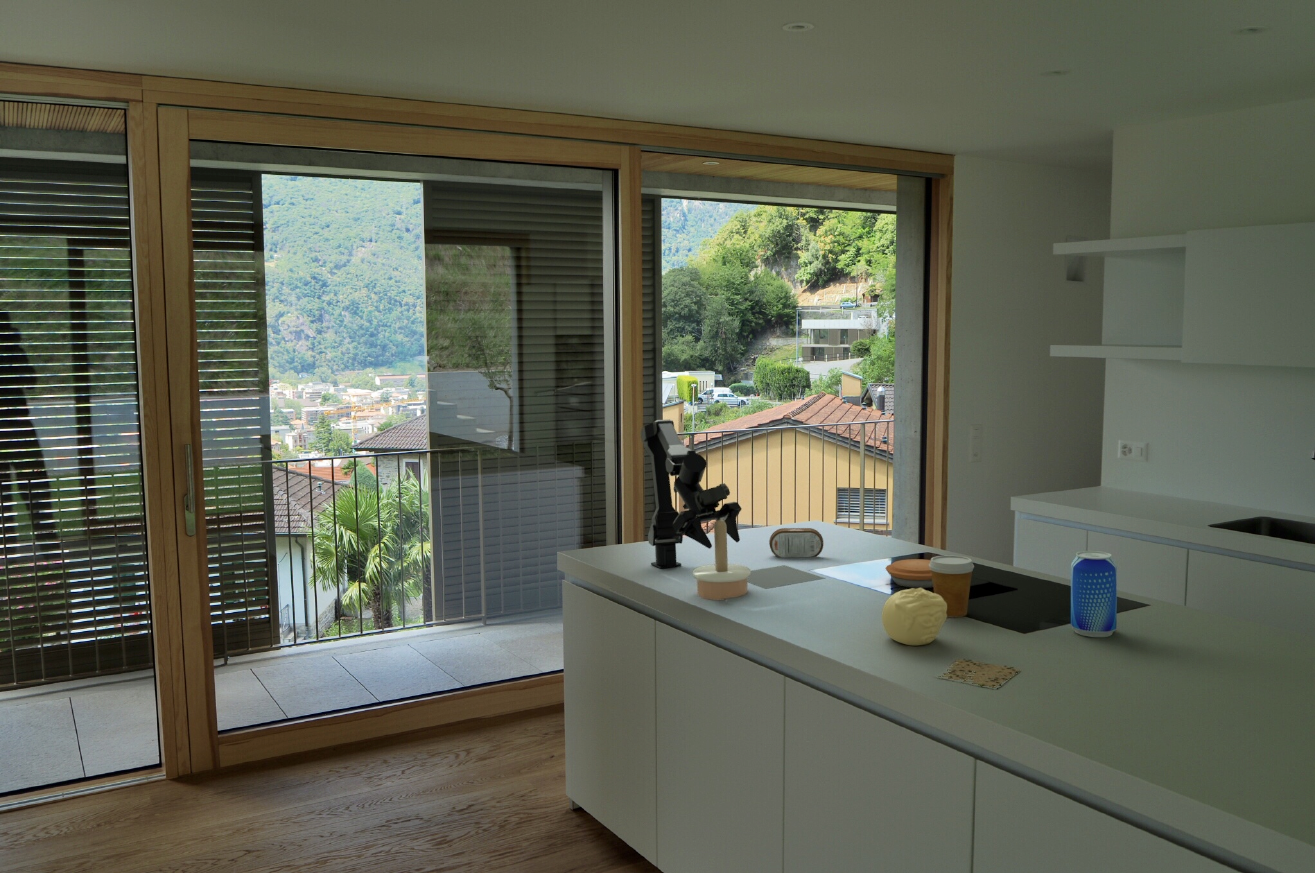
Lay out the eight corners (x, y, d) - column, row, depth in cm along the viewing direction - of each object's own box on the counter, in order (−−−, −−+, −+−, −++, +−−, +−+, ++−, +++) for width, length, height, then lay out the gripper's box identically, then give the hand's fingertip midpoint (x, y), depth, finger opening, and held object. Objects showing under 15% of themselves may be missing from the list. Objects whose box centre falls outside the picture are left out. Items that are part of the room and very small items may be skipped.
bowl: (689, 591, 243) (688, 574, 242) (730, 584, 248) (729, 567, 248) (713, 602, 232) (713, 583, 232) (756, 594, 238) (756, 576, 237)
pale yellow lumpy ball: (911, 653, 190) (911, 599, 189) (871, 638, 200) (870, 586, 199) (956, 643, 195) (955, 590, 194) (914, 628, 206) (913, 578, 205)
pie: (881, 588, 240) (880, 568, 239) (891, 573, 254) (890, 554, 253) (947, 592, 234) (946, 571, 233) (953, 577, 248) (953, 557, 248)
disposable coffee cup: (977, 609, 218) (976, 556, 217) (971, 621, 209) (971, 565, 208) (933, 606, 222) (932, 553, 221) (925, 617, 213) (925, 563, 212)
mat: (727, 576, 257) (727, 574, 257) (784, 566, 265) (784, 565, 265) (765, 590, 241) (765, 588, 241) (825, 580, 249) (825, 578, 249)
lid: (682, 573, 243) (680, 519, 241) (731, 566, 249) (729, 512, 248) (711, 585, 230) (709, 527, 229) (761, 576, 237) (760, 520, 235)
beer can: (1114, 627, 201) (1114, 550, 200) (1118, 639, 193) (1119, 559, 192) (1069, 625, 204) (1069, 549, 202) (1072, 637, 196) (1072, 558, 195)
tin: (823, 556, 276) (822, 527, 276) (824, 559, 273) (823, 529, 272) (769, 557, 278) (768, 528, 277) (769, 559, 275) (769, 530, 274)
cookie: (957, 660, 186) (957, 655, 186) (1022, 672, 178) (1022, 667, 178) (930, 679, 177) (930, 673, 177) (997, 692, 169) (997, 686, 169)
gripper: (678, 478, 234) (711, 529, 227) (735, 469, 246) (768, 518, 239) (658, 507, 241) (690, 558, 234) (714, 497, 253) (746, 545, 246)
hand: (724, 544), depth 238 cm, fingers open, 9 cm apart
